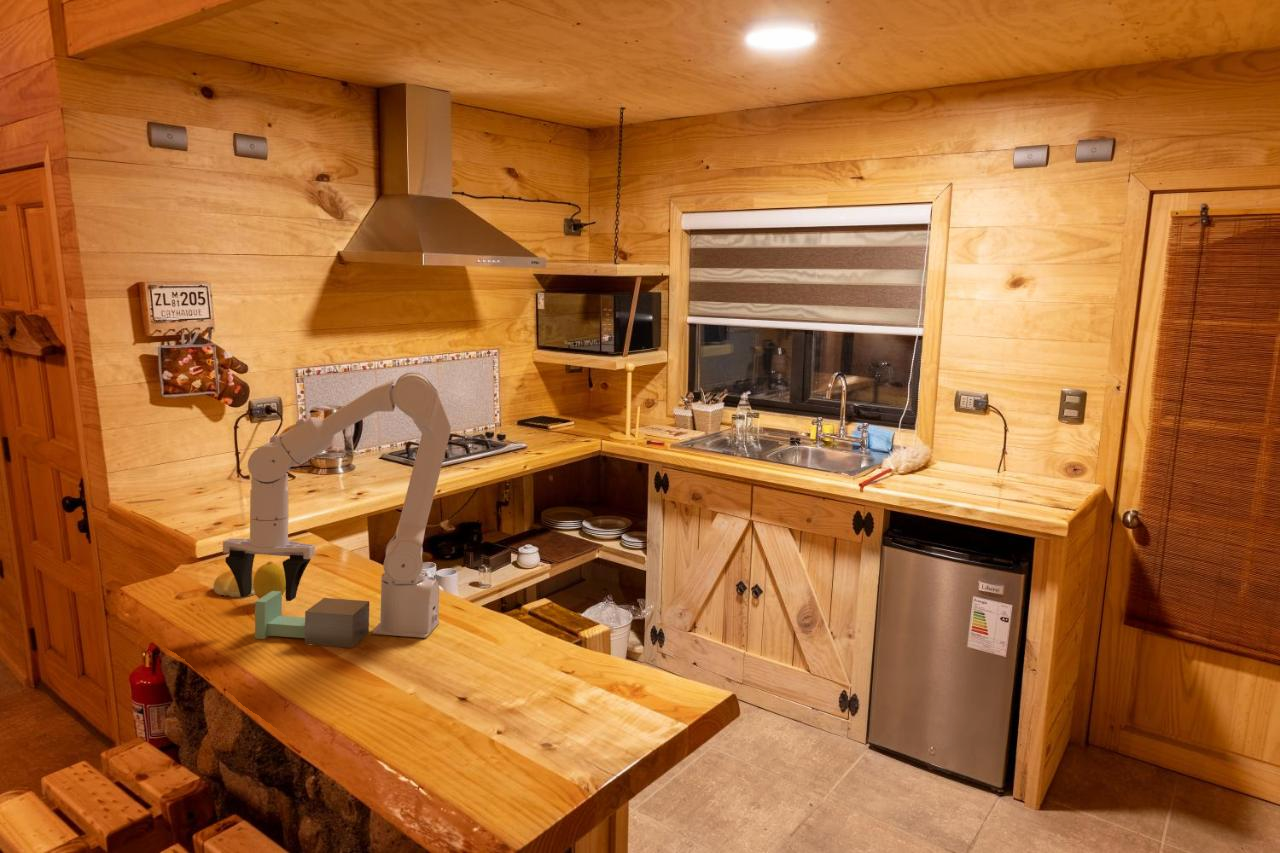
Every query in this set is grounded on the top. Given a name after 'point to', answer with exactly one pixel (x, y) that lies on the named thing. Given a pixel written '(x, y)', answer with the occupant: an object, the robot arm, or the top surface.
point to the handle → (276, 619)
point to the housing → (337, 622)
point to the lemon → (269, 579)
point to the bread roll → (229, 585)
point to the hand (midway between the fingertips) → (268, 597)
